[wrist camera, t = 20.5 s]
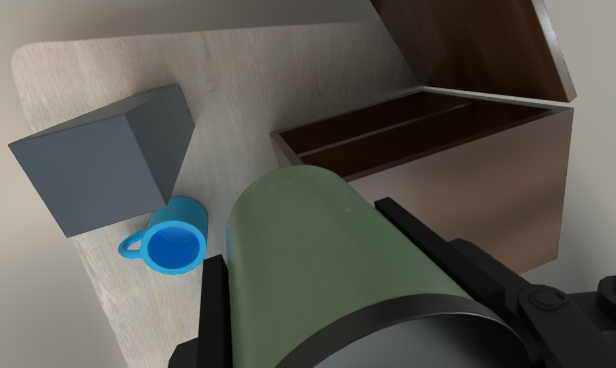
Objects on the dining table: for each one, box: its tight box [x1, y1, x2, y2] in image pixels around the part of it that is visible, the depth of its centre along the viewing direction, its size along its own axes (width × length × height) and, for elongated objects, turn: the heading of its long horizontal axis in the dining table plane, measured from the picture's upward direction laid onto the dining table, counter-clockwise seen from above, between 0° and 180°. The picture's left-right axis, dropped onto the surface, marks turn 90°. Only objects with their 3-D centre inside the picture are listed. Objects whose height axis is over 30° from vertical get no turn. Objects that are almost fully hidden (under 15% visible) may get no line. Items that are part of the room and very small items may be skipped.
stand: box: [8, 84, 195, 238], centre depth 31 cm, size 6×6×28 cm
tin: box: [226, 165, 531, 368], centre depth 12 cm, size 7×7×10 cm
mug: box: [118, 196, 208, 275], centre depth 46 cm, size 12×8×8 cm
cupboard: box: [270, 89, 574, 275], centre depth 43 cm, size 18×26×24 cm
